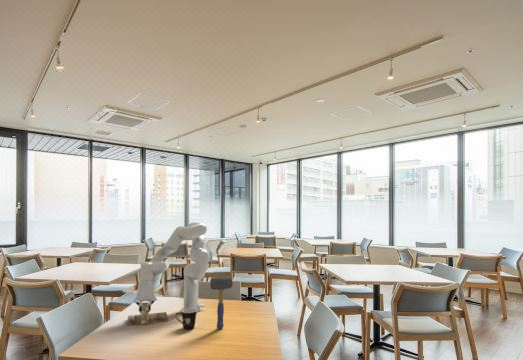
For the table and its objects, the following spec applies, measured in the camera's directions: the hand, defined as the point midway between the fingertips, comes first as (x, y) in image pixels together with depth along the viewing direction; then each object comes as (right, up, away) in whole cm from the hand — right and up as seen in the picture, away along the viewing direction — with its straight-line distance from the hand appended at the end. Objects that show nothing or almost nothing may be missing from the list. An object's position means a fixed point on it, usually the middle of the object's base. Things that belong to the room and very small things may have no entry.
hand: (144, 311), depth 203 cm
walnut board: (+2, -5, 0) cm, 6 cm away
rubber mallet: (+48, -5, -12) cm, 50 cm away
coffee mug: (+29, -5, -11) cm, 31 cm away
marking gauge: (0, -5, -2) cm, 5 cm away
